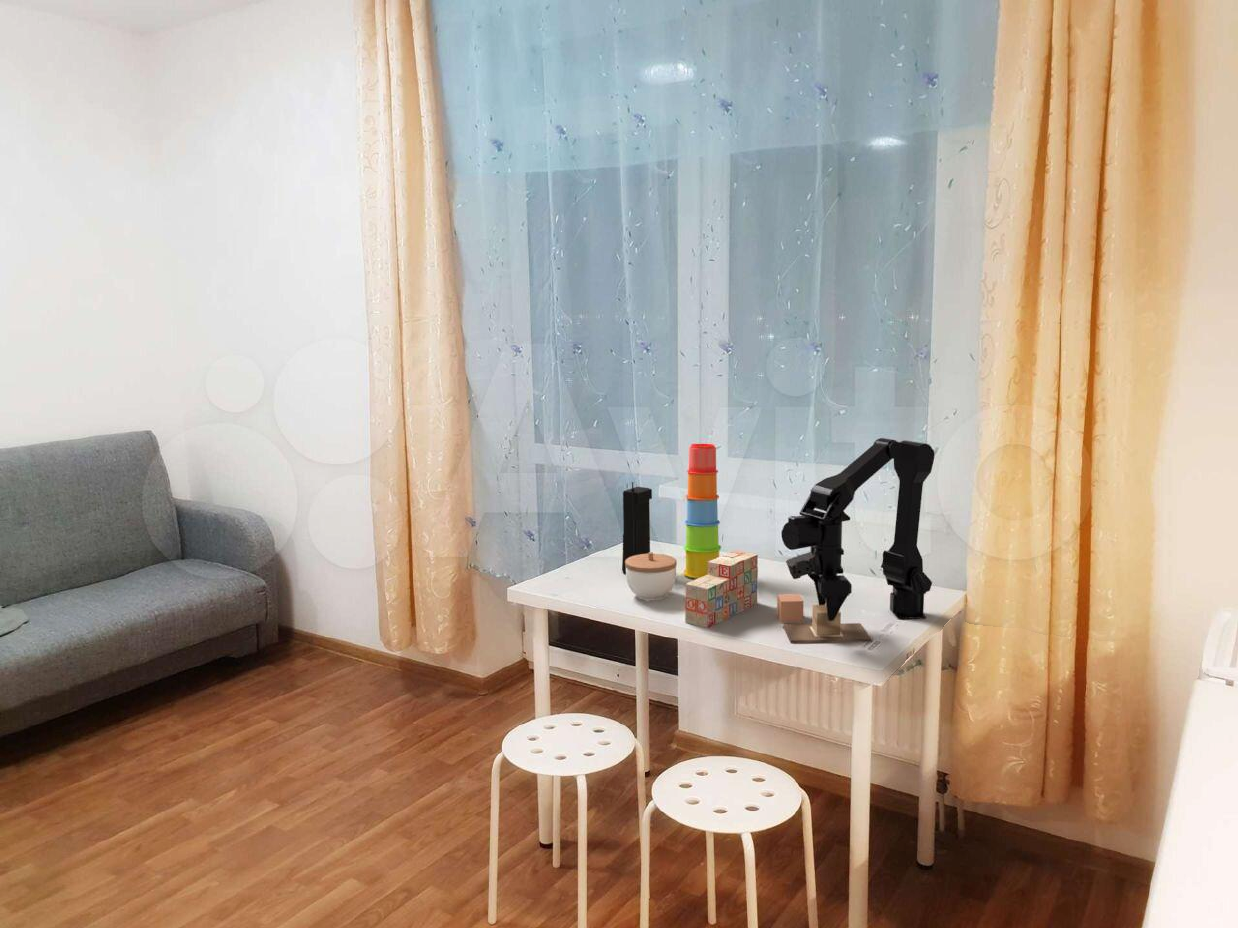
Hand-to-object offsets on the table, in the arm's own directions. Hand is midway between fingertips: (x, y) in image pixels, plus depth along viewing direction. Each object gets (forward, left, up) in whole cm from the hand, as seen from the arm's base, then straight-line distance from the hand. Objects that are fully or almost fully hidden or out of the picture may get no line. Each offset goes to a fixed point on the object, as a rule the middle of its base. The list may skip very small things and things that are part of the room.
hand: (826, 613), depth 196 cm
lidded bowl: (+37, -28, -5) cm, 46 cm away
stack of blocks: (+21, -15, -5) cm, 26 cm away
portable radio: (+40, -49, -5) cm, 63 cm away
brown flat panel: (0, 0, -5) cm, 5 cm away
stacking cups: (+23, -45, -5) cm, 51 cm away
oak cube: (0, 0, -4) cm, 4 cm away
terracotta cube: (+6, -10, -5) cm, 13 cm away
